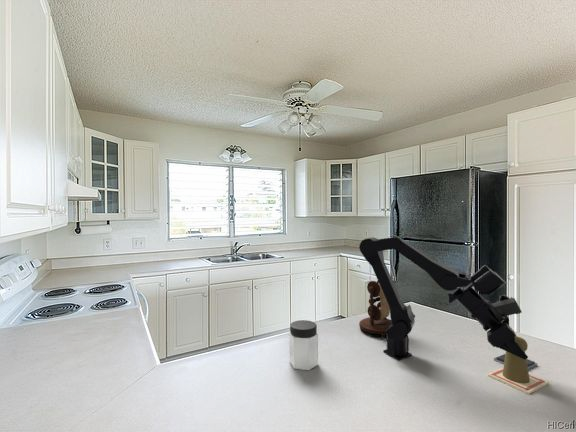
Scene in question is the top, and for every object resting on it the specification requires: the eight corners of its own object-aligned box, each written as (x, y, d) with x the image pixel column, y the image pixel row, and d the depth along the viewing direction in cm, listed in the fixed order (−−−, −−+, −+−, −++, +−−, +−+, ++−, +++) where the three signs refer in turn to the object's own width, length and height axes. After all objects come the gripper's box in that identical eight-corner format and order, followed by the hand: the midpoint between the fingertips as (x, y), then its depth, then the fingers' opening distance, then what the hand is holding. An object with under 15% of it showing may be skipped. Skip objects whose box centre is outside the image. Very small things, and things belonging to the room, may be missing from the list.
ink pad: (523, 371, 88) (523, 368, 88) (493, 360, 96) (493, 357, 96) (537, 365, 92) (537, 362, 92) (508, 354, 99) (508, 351, 99)
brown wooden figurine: (385, 341, 110) (385, 285, 110) (351, 330, 121) (351, 279, 121) (405, 331, 120) (405, 279, 120) (372, 321, 131) (372, 274, 131)
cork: (519, 385, 81) (518, 343, 81) (497, 373, 87) (496, 334, 87) (535, 380, 83) (535, 340, 83) (512, 370, 88) (512, 332, 88)
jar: (286, 358, 98) (286, 321, 97) (310, 355, 100) (310, 318, 100) (295, 372, 89) (295, 331, 89) (321, 368, 91) (321, 328, 91)
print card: (528, 394, 78) (528, 391, 78) (487, 375, 87) (487, 373, 87) (548, 383, 82) (548, 381, 82) (507, 367, 91) (507, 365, 91)
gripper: (503, 295, 78) (560, 348, 73) (496, 281, 94) (542, 323, 89) (467, 321, 82) (518, 373, 77) (467, 303, 98) (509, 345, 93)
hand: (523, 351), depth 84 cm, fingers open, 9 cm apart
